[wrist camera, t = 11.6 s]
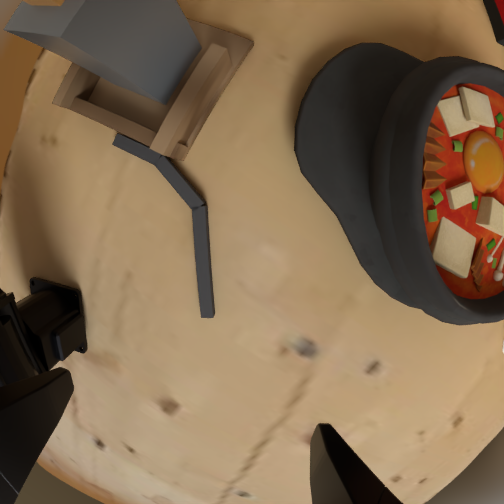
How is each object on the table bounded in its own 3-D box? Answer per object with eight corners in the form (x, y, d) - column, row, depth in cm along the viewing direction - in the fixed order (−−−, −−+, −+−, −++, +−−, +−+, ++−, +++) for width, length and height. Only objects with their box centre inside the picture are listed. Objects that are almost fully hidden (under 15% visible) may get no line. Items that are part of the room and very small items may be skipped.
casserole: (543, 190, 17) (599, 199, 9) (464, 345, 22) (510, 393, 13) (361, 10, 16) (396, -49, 7) (239, 199, 20) (219, 210, 12)
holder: (183, 160, 19) (166, 156, 16) (76, 109, 19) (49, 102, 15) (253, 45, 17) (251, 21, 14) (137, 9, 16) (120, -10, 13)
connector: (165, 105, 18) (43, 28, 5) (114, 84, 17) (-10, 24, 5) (202, 47, 17) (131, -73, 4) (148, 31, 16) (57, -62, 4)
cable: (205, 317, 22) (203, 321, 21) (114, 140, 19) (109, 138, 18) (254, 296, 21) (254, 300, 20) (160, 109, 18) (156, 107, 18)
